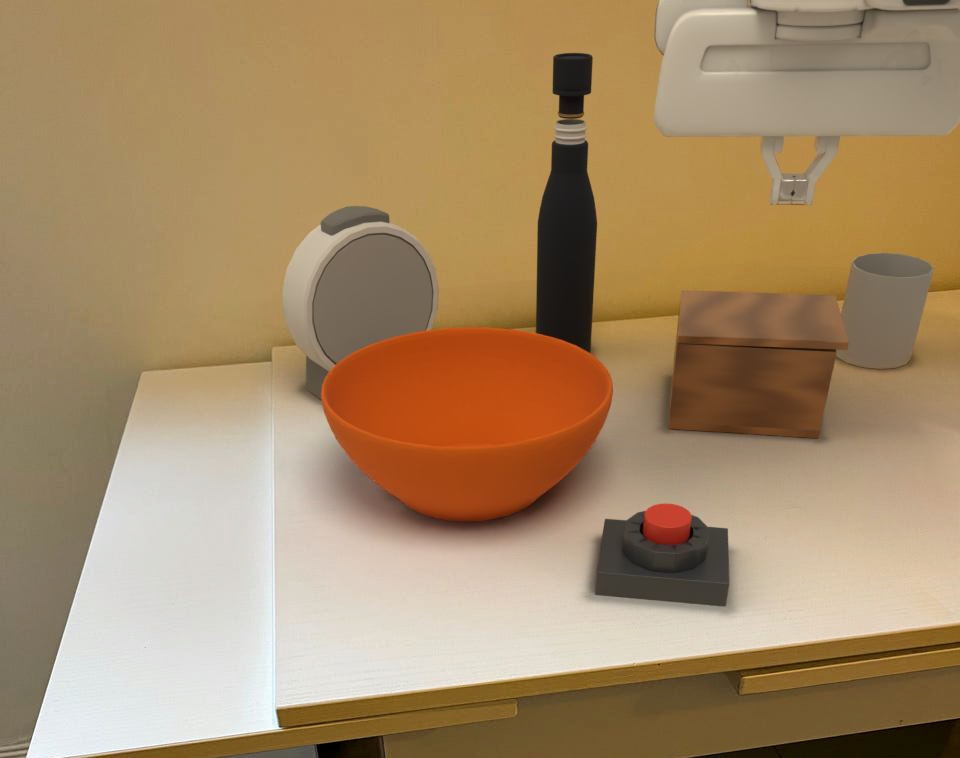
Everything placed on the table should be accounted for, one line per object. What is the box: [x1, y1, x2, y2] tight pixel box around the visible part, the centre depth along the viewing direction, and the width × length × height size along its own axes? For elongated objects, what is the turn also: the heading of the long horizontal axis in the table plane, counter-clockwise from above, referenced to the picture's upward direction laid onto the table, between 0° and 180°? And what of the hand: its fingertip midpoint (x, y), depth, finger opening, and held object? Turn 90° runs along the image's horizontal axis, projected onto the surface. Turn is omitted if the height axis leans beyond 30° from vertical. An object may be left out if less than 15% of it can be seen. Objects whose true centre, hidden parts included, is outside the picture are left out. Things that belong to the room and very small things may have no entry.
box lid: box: [678, 289, 849, 350], centre depth 98 cm, size 16×13×1 cm
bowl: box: [320, 326, 614, 522], centre depth 89 cm, size 25×25×10 cm
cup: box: [836, 252, 935, 370], centre depth 110 cm, size 8×8×10 cm
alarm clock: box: [281, 205, 440, 400], centre depth 104 cm, size 16×10×18 cm, turn 126°
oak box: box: [667, 305, 837, 439], centre depth 101 cm, size 15×13×9 cm
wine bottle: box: [535, 52, 598, 354], centre depth 106 cm, size 6×6×30 cm
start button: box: [643, 503, 692, 545], centre depth 77 cm, size 4×4×2 cm
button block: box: [594, 510, 730, 607], centre depth 79 cm, size 10×8×4 cm
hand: (790, 203), depth 71 cm, fingers closed
